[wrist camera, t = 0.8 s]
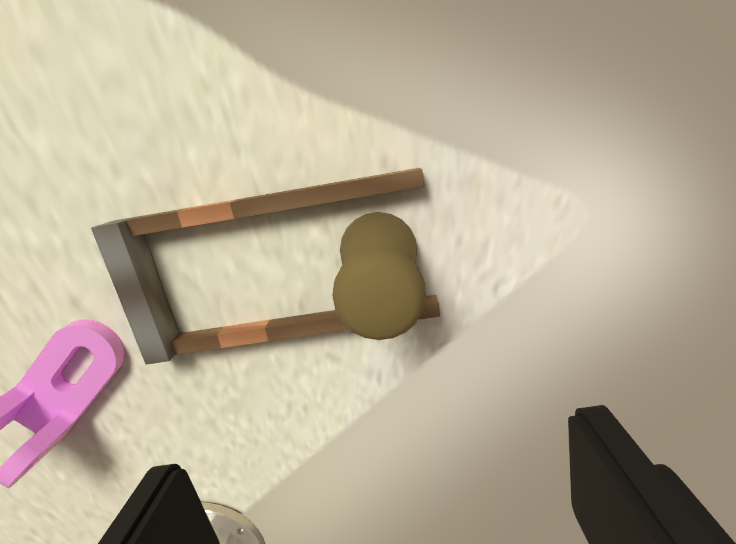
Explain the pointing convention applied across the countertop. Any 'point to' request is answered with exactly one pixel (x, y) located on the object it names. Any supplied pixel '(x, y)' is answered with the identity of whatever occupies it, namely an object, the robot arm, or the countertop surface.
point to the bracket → (57, 392)
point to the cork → (378, 278)
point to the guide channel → (130, 248)
